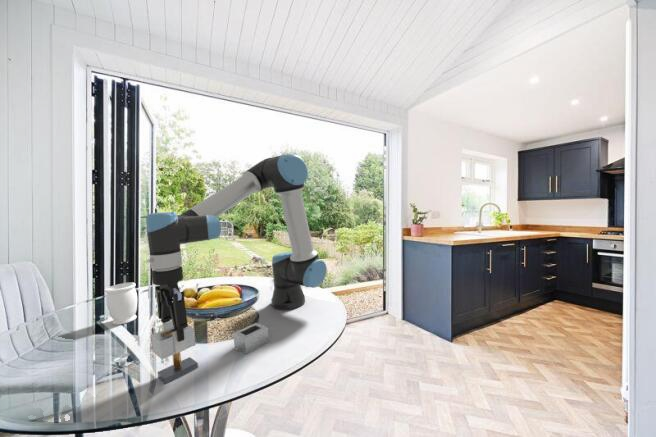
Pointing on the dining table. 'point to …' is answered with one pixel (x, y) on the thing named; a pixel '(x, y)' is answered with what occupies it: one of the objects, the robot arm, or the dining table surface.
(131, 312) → the jar
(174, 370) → the grey base with post
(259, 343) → the grey slotted holder
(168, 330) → the grey rectangular block
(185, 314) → the robot arm
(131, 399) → the dining table surface
